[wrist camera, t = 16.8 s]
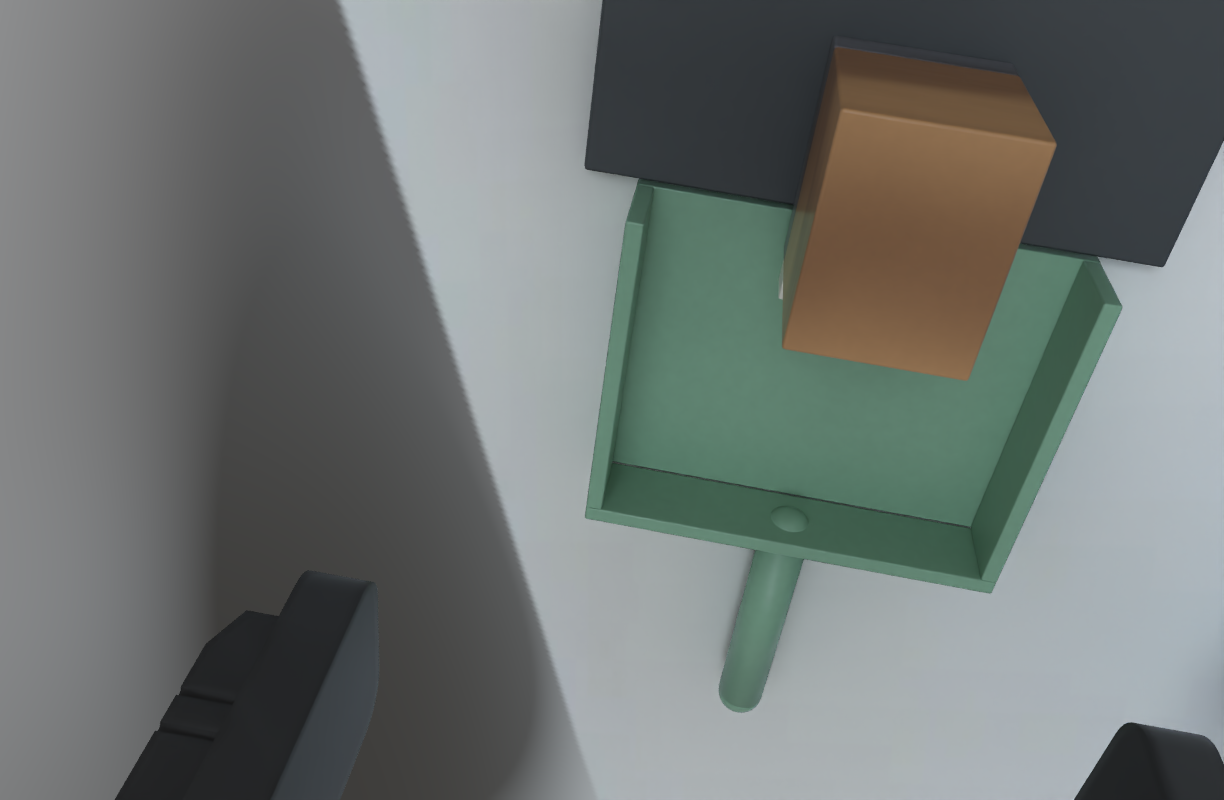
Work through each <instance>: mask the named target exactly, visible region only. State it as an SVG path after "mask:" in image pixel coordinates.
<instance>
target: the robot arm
mask: <svg viewBox="0 0 1224 800" xmlns="http://www.w3.org/2000/svg"><path fill="white" fill-rule="evenodd" d="M377 592H378V591H377V586H376V584H375V583H374V582H371V581H364V580H359V579H354V578H348V577H343V576H338V575H332V574H326V573H321V572H316V571H309V570H308V571H306V572H304V573H303V574H302V575H301V577H300V578H299V580H298V582H297V583H296V585H295V587H294V589H293V590H292V592H291V594H290V596H289V598H288V600H287V602H286V604H285V606H284V608H283V609H282V612H281V613H280V615H279V616H274V615H269V614H263V613H258V612H253V611H245V612H244V613H243V614H242V615H240V616H239V617H238V618H237V619H236V620H234V621H233V622H232V623H231V624H229V625H228V626H227V627H226V628H225V629H223V630H222V631H221V632H220V633H219V634H217V635H216V636H215V637H214V638H213V639H211V640H210V641H209V642H208V643H206V645H205V647H204V648H203V650H202V651H201V653H200V655H199V657H198V658H197V660H196V662H195V664H194V666H193V667H192V669H191V670H190V672H189V674H188V676H187V677H186V679H185V681H184V682H183V684H182V686H181V691H180V694H179V695H176V696H175V698H174V699H173V701H172V703H171V705H170V706H169V708H168V710H167V711H166V713H165V715H164V716H163V718H162V720H161V722H160V728H159V730H158V731H155V732H154V734H153V735H152V737H151V739H150V740H149V742H148V744H147V746H146V747H145V749H144V751H143V752H142V754H141V756H140V757H139V759H138V761H137V763H136V764H135V766H134V768H133V769H132V771H131V773H130V775H129V776H128V778H127V780H126V781H125V783H124V785H123V787H122V788H121V790H120V792H119V793H118V795H117V797H116V798H115V800H340V798H341V796H342V793H343V791H344V788H345V786H346V783H347V780H348V778H349V775H350V772H351V770H352V768H353V765H354V762H355V760H356V757H357V755H358V752H359V750H360V747H361V744H362V742H363V739H364V737H365V734H366V731H367V729H368V726H369V723H370V720H371V716H372V712H373V709H374V704H375V700H376V695H377V689H378V681H379V635H378V593H377ZM1074 800H1224V764H1223V762H1222V759H1221V756H1220V754H1219V752H1218V750H1217V748H1216V747H1215V745H1214V744H1213V743H1212V742H1211V741H1210V740H1209V739H1208V738H1207V737H1205V736H1202V735H1198V734H1192V733H1187V732H1181V731H1176V730H1170V729H1165V728H1159V727H1154V726H1148V725H1143V724H1137V723H1126V724H1124V725H1123V726H1122V727H1121V728H1120V729H1119V730H1118V731H1117V733H1116V734H1115V736H1114V737H1113V739H1112V740H1111V742H1110V744H1109V745H1108V747H1107V748H1106V750H1105V751H1104V753H1103V755H1102V756H1101V758H1100V759H1099V761H1098V763H1097V764H1096V766H1095V767H1094V769H1093V770H1092V772H1091V774H1090V775H1089V777H1088V778H1087V780H1086V782H1085V783H1084V785H1083V786H1082V788H1081V789H1080V791H1079V793H1078V794H1077V796H1076V797H1075V799H1074Z"/></svg>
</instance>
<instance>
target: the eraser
mask: <svg viewBox="0 0 1224 800" xmlns="http://www.w3.org/2000/svg"><path fill="white" fill-rule="evenodd" d="M1056 146H1057V144H1056V141H1055V139H1054V138H1053V136H1052V134H1051V132H1050V130H1049V129H1048V127H1047V125H1046V123H1045V121H1044V120H1043V118H1042V116H1041V114H1040V112H1039V110H1038V109H1037V107H1036V105H1035V103H1034V101H1033V100H1032V98H1031V96H1030V94H1029V92H1028V91H1027V89H1026V87H1025V85H1024V83H1023V81H1022V80H1021V78H1020V77H1019V75H1018V73H1017V71H1016V69H1015V67H1014V65H1013V64H1011V63H1006V62H1000V61H993V60H987V59H981V58H975V57H968V56H962V55H956V54H949V53H943V52H937V51H931V50H924V49H918V48H912V47H905V46H899V45H893V44H887V43H880V42H874V41H868V40H862V39H855V38H849V37H843V36H834V37H833V39H832V43H831V47H830V52H829V56H828V60H827V64H826V69H825V73H824V77H823V82H822V86H821V90H820V94H819V99H818V103H817V107H816V112H815V116H814V120H813V124H812V129H811V133H810V137H809V141H808V146H807V150H806V154H805V159H804V163H803V167H802V171H801V176H800V180H799V184H798V189H797V193H796V197H795V201H794V206H793V210H792V214H791V219H790V223H789V227H788V231H787V236H786V240H785V244H784V264H783V313H782V348H783V349H785V350H791V351H797V352H803V353H808V354H814V355H820V356H826V357H831V358H837V359H843V360H848V361H854V362H860V363H866V364H871V365H877V366H883V367H889V368H894V369H900V370H906V371H912V372H917V373H923V374H929V375H934V376H940V377H946V378H952V379H957V380H963V381H967V380H968V379H969V377H970V375H971V372H972V370H973V367H974V364H975V362H976V359H977V356H978V354H979V351H980V348H981V346H982V343H983V340H984V338H985V335H986V332H987V330H988V327H989V324H990V322H991V319H992V316H993V314H994V311H995V308H996V306H997V303H998V300H999V298H1000V295H1001V293H1002V290H1003V287H1004V285H1005V282H1006V279H1007V277H1008V274H1009V271H1010V269H1011V266H1012V263H1013V261H1014V258H1015V255H1016V253H1017V250H1018V247H1019V245H1020V242H1021V239H1022V237H1023V234H1024V231H1025V229H1026V226H1027V223H1028V221H1029V218H1030V216H1031V213H1032V210H1033V208H1034V205H1035V202H1036V200H1037V197H1038V194H1039V192H1040V189H1041V186H1042V184H1043V181H1044V178H1045V176H1046V173H1047V170H1048V168H1049V165H1050V162H1051V160H1052V157H1053V154H1054V152H1055V149H1056Z"/></svg>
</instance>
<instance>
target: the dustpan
mask: <svg viewBox="0 0 1224 800" xmlns="http://www.w3.org/2000/svg"><path fill="white" fill-rule="evenodd" d="M793 206H794V205H790V204H784V203H778V202H772V201H766V200H761V199H755V198H749V197H743V196H737V195H731V194H725V193H719V192H713V191H708V190H702V189H696V188H690V187H684V186H678V185H672V184H666V183H660V182H655V181H649V180H643V179H639V180H638V183H637V187H636V190H635V193H634V197H633V200H632V203H631V206H630V210H629V213H628V216H627V219H626V223H625V230H624V237H623V244H622V252H621V259H620V266H619V273H618V281H617V288H616V295H615V302H614V310H613V317H612V324H611V331H610V339H609V346H608V353H607V360H606V367H605V375H604V382H603V389H602V396H601V404H600V411H599V418H598V425H597V433H596V440H595V447H594V454H593V462H592V469H591V476H590V483H589V491H588V498H587V506H586V512H585V518H587V519H592V520H597V521H603V522H608V523H613V524H619V525H624V526H629V527H635V528H640V529H646V530H651V531H656V532H662V533H667V534H672V535H678V536H683V537H689V538H694V539H699V540H705V541H710V542H715V543H721V544H726V545H732V546H737V547H742V548H748V549H753V550H755V553H754V557H753V560H752V564H751V568H750V572H749V575H748V579H747V583H746V586H745V590H744V594H743V598H742V601H741V605H740V609H739V613H738V616H737V620H736V624H735V627H734V631H733V635H732V639H731V642H730V646H729V650H728V653H727V657H726V661H725V665H724V668H723V672H722V676H721V679H720V683H719V695H720V698H721V700H722V702H723V704H724V705H725V706H726V707H727V708H729V709H730V710H732V711H735V712H740V713H742V712H748V711H750V710H752V709H753V708H755V707H756V706H757V705H758V703H759V701H760V699H761V697H762V693H763V690H764V687H765V684H766V680H767V677H768V674H769V671H770V667H771V664H772V661H773V658H774V654H775V651H776V648H777V644H778V641H779V638H780V635H781V631H782V628H783V625H784V622H785V618H786V615H787V612H788V609H789V605H790V602H791V599H792V596H793V592H794V589H795V586H796V583H797V579H798V576H799V573H800V570H801V566H802V563H803V560H804V559H807V560H812V561H818V562H823V563H828V564H834V565H839V566H844V567H850V568H855V569H861V570H866V571H871V572H877V573H882V574H887V575H893V576H898V577H904V578H909V579H914V580H920V581H925V582H930V583H936V584H941V585H947V586H952V587H957V588H963V589H968V590H973V591H979V592H984V593H992V590H993V588H994V586H995V584H996V582H997V580H998V577H999V575H1000V573H1001V571H1002V569H1003V567H1004V564H1005V562H1006V560H1007V558H1008V556H1009V554H1010V551H1011V549H1012V547H1013V545H1014V543H1015V540H1016V538H1017V536H1018V534H1019V532H1020V530H1021V527H1022V525H1023V523H1024V521H1025V519H1026V517H1027V514H1028V512H1029V510H1030V508H1031V506H1032V504H1033V501H1034V499H1035V497H1036V495H1037V493H1038V490H1039V488H1040V486H1041V484H1042V482H1043V480H1044V477H1045V475H1046V473H1047V471H1048V469H1049V467H1050V464H1051V462H1052V460H1053V458H1054V456H1055V453H1056V451H1057V449H1058V447H1059V445H1060V443H1061V440H1062V438H1063V436H1064V434H1065V432H1066V430H1067V427H1068V425H1069V423H1070V421H1071V419H1072V417H1073V414H1074V412H1075V410H1076V408H1077V406H1078V403H1079V401H1080V399H1081V397H1082V395H1083V393H1084V390H1085V388H1086V386H1087V384H1088V382H1089V380H1090V377H1091V375H1092V373H1093V371H1094V369H1095V367H1096V364H1097V362H1098V360H1099V358H1100V356H1101V353H1102V351H1103V349H1104V347H1105V345H1106V343H1107V340H1108V338H1109V336H1110V334H1111V332H1112V330H1113V327H1114V325H1115V323H1116V321H1117V319H1118V317H1119V314H1120V312H1121V310H1122V305H1121V303H1120V301H1119V299H1118V297H1117V295H1116V293H1115V291H1114V289H1113V287H1112V285H1111V283H1110V281H1109V279H1108V277H1107V275H1106V273H1105V272H1104V270H1103V268H1102V266H1101V264H1100V261H1099V259H1098V257H1096V256H1090V255H1084V254H1078V253H1072V252H1066V251H1061V250H1055V249H1049V248H1043V247H1037V246H1031V245H1025V244H1020V245H1019V247H1018V250H1017V253H1016V255H1015V258H1014V261H1013V263H1012V266H1011V269H1010V271H1009V274H1008V277H1007V279H1006V282H1005V285H1004V287H1003V290H1002V293H1001V295H1000V298H999V300H998V303H997V306H996V308H995V311H994V314H993V316H992V319H991V322H990V324H989V327H988V330H987V332H986V335H985V338H984V340H983V343H982V346H981V348H980V351H979V354H978V356H977V359H976V362H975V364H974V367H973V370H972V372H971V375H970V377H969V379H968V380H967V381H963V380H957V379H952V378H946V377H940V376H934V375H929V374H923V373H917V372H912V371H906V370H900V369H894V368H889V367H883V366H877V365H871V364H866V363H860V362H854V361H848V360H843V359H837V358H831V357H826V356H820V355H814V354H808V353H803V352H797V351H791V350H785V349H783V348H782V313H783V299H779V297H778V291H779V276H780V272H781V267H782V263H783V259H784V244H785V240H786V236H787V231H788V227H789V223H790V219H791V214H792V210H793ZM612 462H619V463H624V464H630V465H635V466H641V467H646V468H651V469H657V470H662V471H668V472H673V473H679V474H684V475H690V476H695V477H701V478H706V479H712V480H717V481H722V482H728V483H733V484H739V485H744V486H750V487H755V488H761V489H766V490H772V491H777V492H782V493H788V494H793V495H799V496H804V497H810V498H815V499H821V500H826V501H832V502H837V503H843V504H848V505H853V506H859V507H864V508H870V509H875V510H881V511H886V512H892V513H897V514H903V515H908V516H913V517H919V518H924V519H930V520H935V521H941V522H946V523H952V524H957V525H963V526H968V527H971V528H966V527H960V526H955V525H949V524H944V523H938V522H933V521H928V520H922V519H917V518H911V517H906V516H900V515H895V514H889V513H884V512H878V511H873V510H867V509H862V508H857V507H851V506H846V505H840V504H835V503H829V502H824V501H818V500H813V499H807V498H802V497H797V496H791V495H786V494H780V493H775V492H769V491H764V490H758V489H753V488H747V487H742V486H737V485H731V484H726V483H720V482H715V481H709V480H704V479H698V478H693V477H687V476H682V475H677V474H671V473H666V472H660V471H655V470H649V469H644V468H638V467H633V466H627V465H622V464H617V463H612Z"/></svg>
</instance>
